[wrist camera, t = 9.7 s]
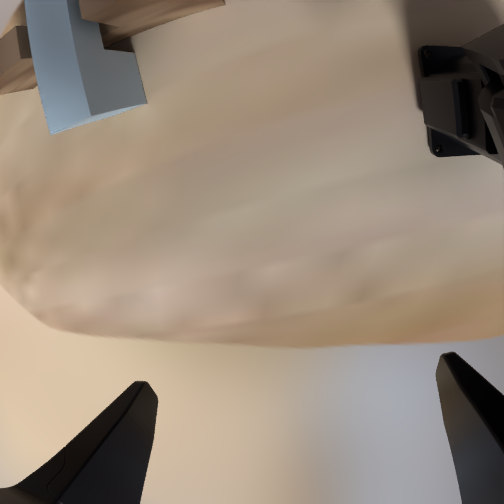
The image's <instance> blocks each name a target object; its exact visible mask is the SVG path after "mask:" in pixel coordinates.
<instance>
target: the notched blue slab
mask: <svg viewBox="0 0 504 504" xmlns="http://www.w3.org/2000/svg"><path fill="white" fill-rule="evenodd" d="M24 2H25V11H26V20H27V28H28V35H29V41H30V48H31V53H32V59H33V64H34V69H35V74H36V79H37V84H38V88H39V93H40V97H41V101H42V105H43V109H44V113H45V117H46V121H47V124H48V128H49V131H50V135H53V134H56V133H59V132H62V131H65V130H68V129H71V128H74V127H77V126H81V125H84V124H87V123H90V122H94V121H97V120H101V119H104V118H108V117H112V116H114V115H117V114H119V113H122V112H125V111H127V110H130V109H133V108H135V107H138V106H141V105H144V104H147V101H146V97H145V93H144V89H143V85H142V81H141V77H140V73H139V69H138V65H137V61H136V57H135V53H131V52H123V51H114V50H104V47H103V43H102V38H101V33H100V28H99V23H98V22H94V21H89V20H84V19H82V17H81V11H80V5H79V0H24Z"/></svg>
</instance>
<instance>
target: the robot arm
mask: <svg viewBox="0 0 504 504" xmlns="http://www.w3.org/2000/svg"><path fill="white" fill-rule="evenodd" d="M425 50H426V51H428V52H429V54H430V56H429V58H427V57H426V56H425V54H424V52H425ZM418 58H419V63H420V69H421V75H422V78H421V79H420V81H419V84H420V91H421V98H422V106H423V115H424V123H425V124H426V125H427V126H428V134H429V147H430V151H431V153H432V154H433V155H435V156H437V157H450V156H465V155H484V156H486V157H488V158H490V159H492V160H494V161H496V162H497V163H499V164H501V165H503V168H504V24H503V25H501V26H499V27H497V28H495V29H493V30H491V31H490V32H488V33H486V34H484V35H482V36H480V37H478V38H477V39H475V40H473V41H471V42H469V43H468V44H466V45H464V46H463V47H462V48H461V47H448V46H428V45H427V46H422V47H420V48H419V50H418ZM437 145H440V150H439V151H436V146H437ZM436 381H437V386H438V391H439V397H440V403H441V409H442V414H443V421H444V425H445V429H446V433H447V436H448V440H449V444H450V448H451V452H452V457H453V461H454V465H455V470H456V474H457V479H458V484H459V489H460V494H461V500H462V504H504V395H503V394H502V393H501V392H499V391H498V390H497V389H496V388H495V387H494V386H493V385H492V384H491V383H490V382H488V381H487V380H486V379H485V378H484V377H483V376H482V375H480V374H479V373H478V372H477V371H476V370H475V369H474V368H473V367H471V366H470V365H469V364H468V363H467V362H466V361H465V360H463V359H462V358H461V357H460V356H459V355H457V354H456V353H455V352H448V353H444V354H442V355H441V356H440V359H439V363H438V366H437V370H436ZM157 407H158V398H157V395H156V394H155V392H154V391H153V389H152V388H151V386H150V385H149V383H148V382H146V381H135V382H134V383H132V384H131V385H130V386H129V387H128V388H127V389H126V390H125V391H124V392H123V393H122V394H121V395H120V396H119V397H117V398H116V399H115V400H114V401H113V402H112V403H111V404H110V405H109V406H108V407H107V408H106V409H105V410H104V411H102V412H101V413H100V414H99V415H98V416H97V417H96V418H95V419H94V420H93V421H92V422H91V423H90V424H89V425H88V426H87V427H85V428H84V429H83V430H82V431H81V432H80V433H79V434H78V435H77V436H76V437H74V438H73V439H72V440H71V441H70V442H69V443H68V444H67V445H66V447H63V449H61V450H60V451H59V452H58V453H57V454H56V455H55V456H53V457H52V458H51V459H50V460H49V461H48V462H46V463H45V464H44V465H43V466H41V467H40V468H39V469H37V470H36V471H35V472H33V473H32V474H30V475H29V476H28V477H26V478H25V479H24V480H23V481H21V482H19V483H18V484H16V485H14V486H12V487H8V488H0V504H140V501H141V495H142V491H143V486H144V481H145V477H146V472H147V468H148V463H149V458H150V454H151V450H152V445H153V440H154V433H155V424H156V415H157Z"/></svg>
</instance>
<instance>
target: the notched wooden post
mask: <svg viewBox="0 0 504 504" xmlns="http://www.w3.org/2000/svg"><path fill="white" fill-rule="evenodd" d="M79 5H80V11H81V17H82V19H84V20H89V21H94V22H98V23H99V28H100V33H101V38H102V43H103V47H104V48H106V47H108V46H110V45H112V44H115V43H117V42H119V41H121V40H123V39H126V38H128V37H130V36H133V35H135V34H138V33H140V32H143V31H145V30H148V29H150V28H153V27H155V26H158V25H161V24H164V23H166V22H169V21H172V20H175V19H178V18H181V17H184V16H187V15H190V14H194V13H197V12H200V11H204V10H207V9H211V8H215V7H218V6H222V5H225V1H224V0H79ZM36 86H38V84H37V79H36V74H35V69H34V64H33V59H32V53H31V48H30V41H29V35H28V28H27V26H15V27H14V28H13V29H11V30H10V31H9V32H8V33H7V34H5V35H4V36H3V37H2V38H1V39H0V95H3V94H7V93H12V92H17V91H23V90H28V89H33V88H34V87H36Z"/></svg>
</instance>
